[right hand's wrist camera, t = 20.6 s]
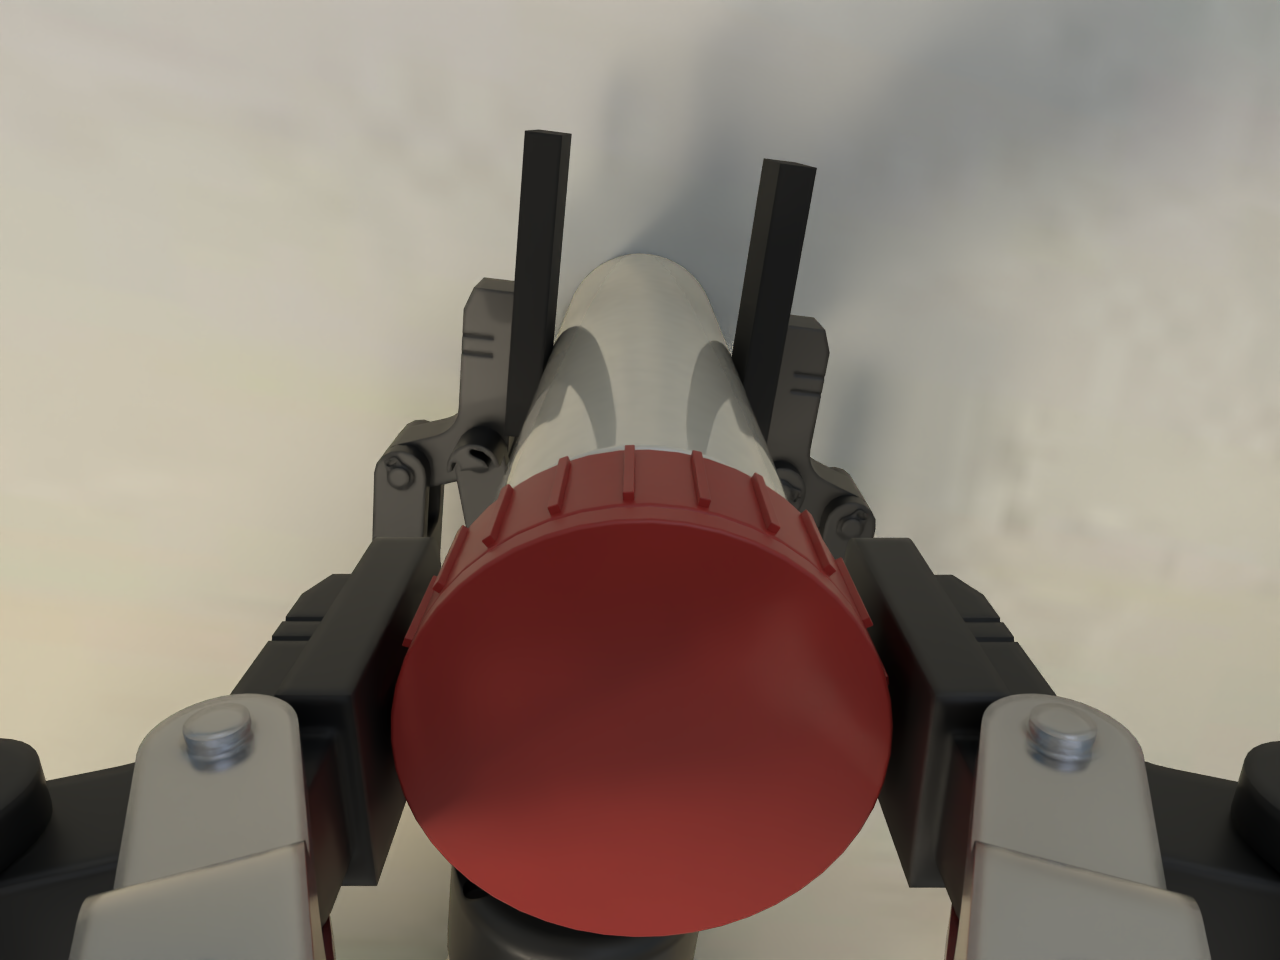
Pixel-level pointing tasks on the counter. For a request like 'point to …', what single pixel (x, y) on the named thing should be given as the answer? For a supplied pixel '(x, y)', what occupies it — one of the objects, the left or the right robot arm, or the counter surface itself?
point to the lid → (641, 698)
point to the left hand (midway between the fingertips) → (669, 150)
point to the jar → (640, 377)
